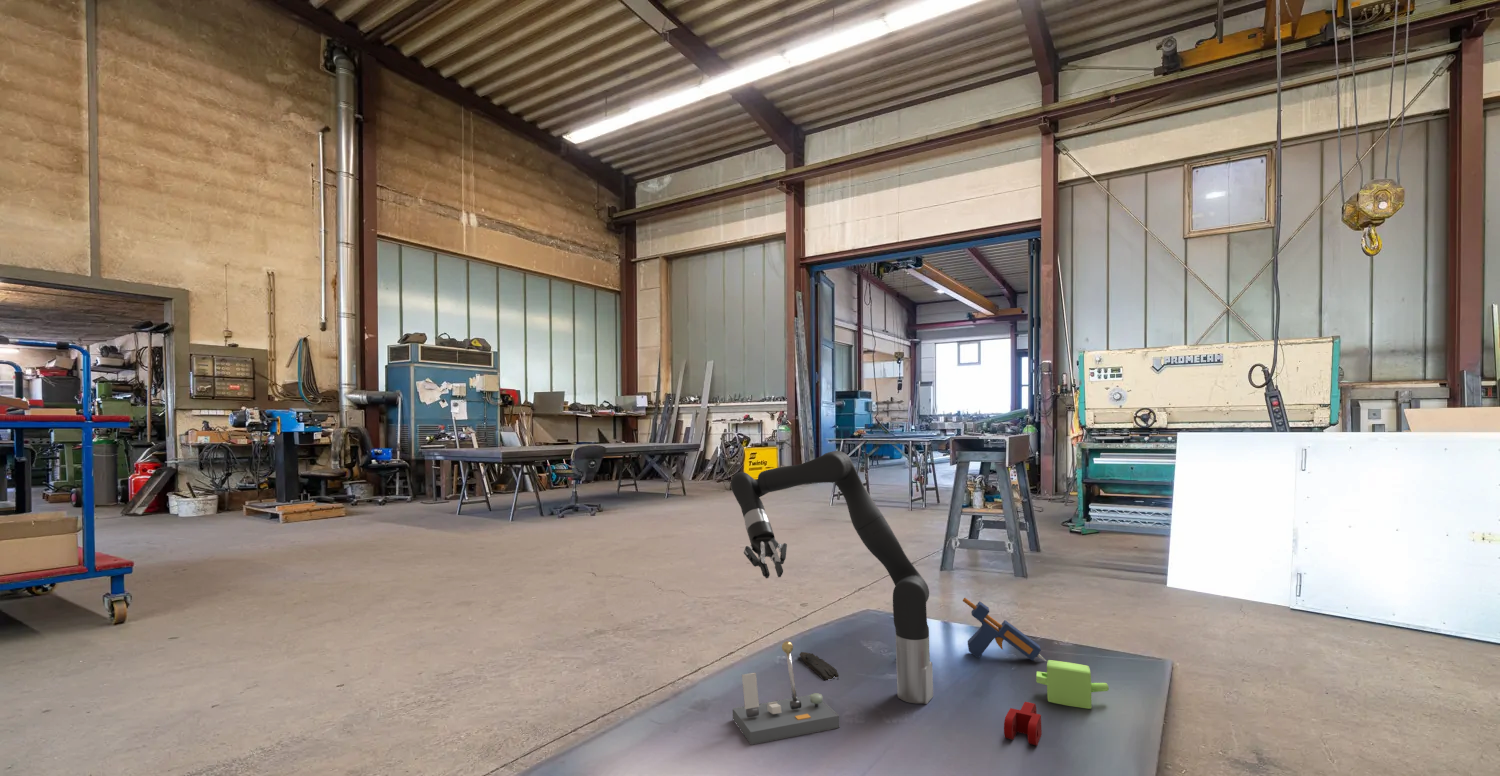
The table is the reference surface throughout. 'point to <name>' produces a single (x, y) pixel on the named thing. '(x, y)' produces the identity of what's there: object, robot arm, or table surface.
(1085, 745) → the table surface
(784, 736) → the control panel
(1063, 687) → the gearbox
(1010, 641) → the glue gun
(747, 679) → the pale grey paddle
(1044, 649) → the table surface
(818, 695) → the push button
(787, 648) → the brass lever
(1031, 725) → the mechanical linkage
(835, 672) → the wood
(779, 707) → the white rocker switch
